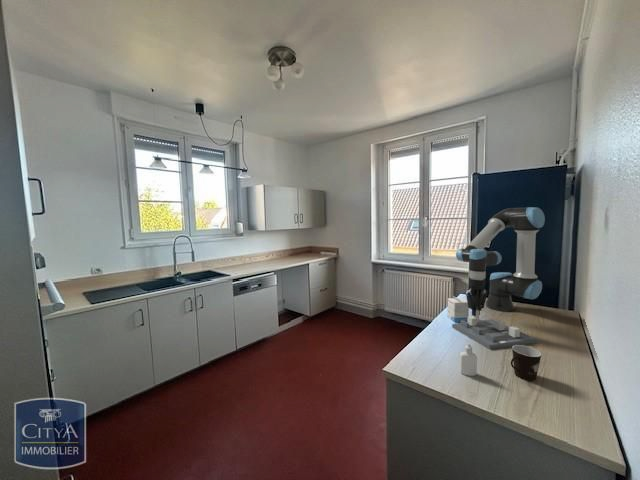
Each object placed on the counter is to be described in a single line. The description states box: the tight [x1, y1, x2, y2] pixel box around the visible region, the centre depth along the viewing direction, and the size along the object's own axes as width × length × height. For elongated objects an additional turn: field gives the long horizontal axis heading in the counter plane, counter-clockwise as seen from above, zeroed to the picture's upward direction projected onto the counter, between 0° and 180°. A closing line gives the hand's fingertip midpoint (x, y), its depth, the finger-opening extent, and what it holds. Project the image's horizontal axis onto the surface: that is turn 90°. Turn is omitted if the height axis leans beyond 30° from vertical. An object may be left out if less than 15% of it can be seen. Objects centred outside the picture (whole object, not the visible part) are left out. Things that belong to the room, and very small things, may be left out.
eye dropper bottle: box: [459, 342, 478, 377], centre depth 100 cm, size 4×6×12 cm
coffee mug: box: [510, 344, 542, 382], centre depth 98 cm, size 12×9×10 cm
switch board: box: [451, 319, 537, 350], centre depth 132 cm, size 26×24×4 cm
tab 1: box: [467, 315, 477, 326], centre depth 139 cm, size 3×3×4 cm
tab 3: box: [509, 326, 521, 338], centre depth 125 cm, size 3×3×4 cm
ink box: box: [447, 295, 470, 323], centre depth 151 cm, size 9×8×13 cm
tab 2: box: [494, 319, 506, 331], centre depth 133 cm, size 3×3×4 cm
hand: (475, 321), depth 139 cm, fingers closed
